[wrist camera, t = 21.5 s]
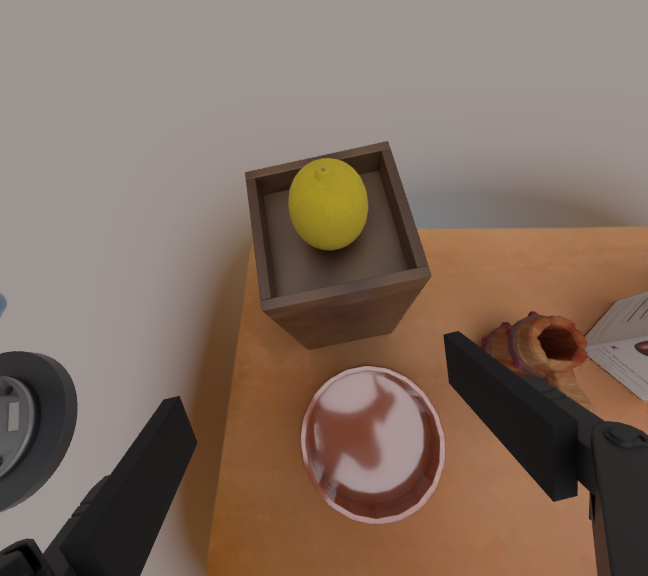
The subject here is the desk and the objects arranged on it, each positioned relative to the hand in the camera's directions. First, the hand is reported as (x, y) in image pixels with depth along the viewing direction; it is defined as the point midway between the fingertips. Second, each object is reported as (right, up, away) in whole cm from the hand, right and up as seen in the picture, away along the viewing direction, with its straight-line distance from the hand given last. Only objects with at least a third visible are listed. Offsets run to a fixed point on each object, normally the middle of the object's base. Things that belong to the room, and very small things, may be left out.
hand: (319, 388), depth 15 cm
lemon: (+1, +9, +11) cm, 14 cm away
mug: (+24, -6, +25) cm, 35 cm away
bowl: (+6, -14, +24) cm, 28 cm away
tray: (+1, +9, +11) cm, 14 cm away
